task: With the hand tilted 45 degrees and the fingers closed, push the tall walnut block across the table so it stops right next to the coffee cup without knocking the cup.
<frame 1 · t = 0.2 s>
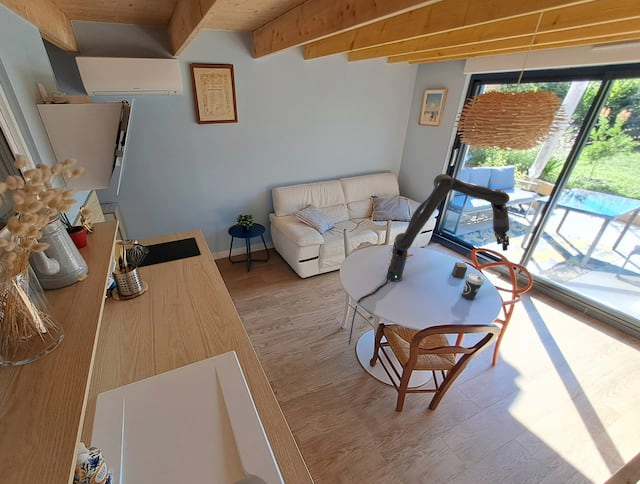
hand: (502, 247, 173), 31 cm above the table, tool tilted 20°, fingers open, 8 cm apart
magic lamp: (399, 261, 220), on the table
walnut block: (457, 275, 202), on the table
coffee cup: (467, 297, 181), on the table
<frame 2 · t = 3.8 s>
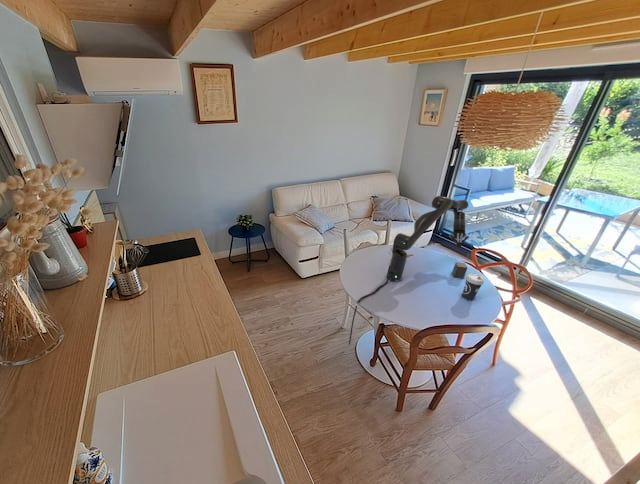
hand: (458, 247, 207), 15 cm above the table, tool tilted 45°, fingers closed
nothing on the table moved.
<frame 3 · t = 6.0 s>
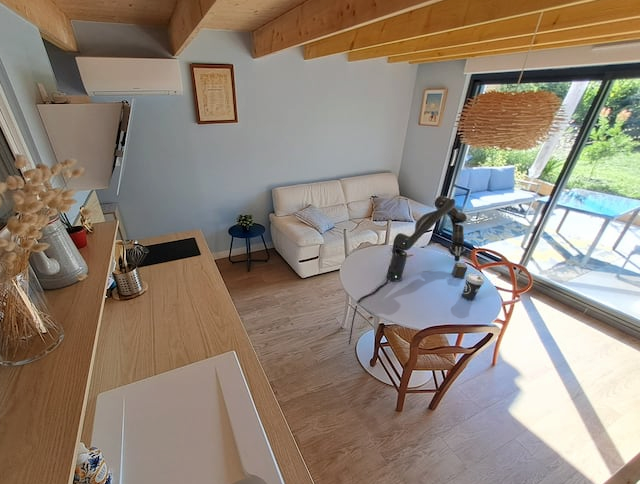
hand: (457, 261, 206), 7 cm above the table, tool tilted 45°, fingers closed
nothing on the table moved.
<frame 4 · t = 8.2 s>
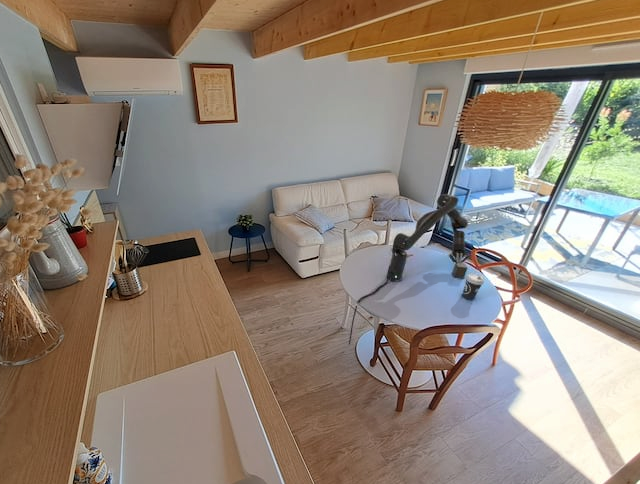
hand: (458, 267, 202), 4 cm above the table, tool tilted 45°, fingers closed
walnut block: (457, 275, 202), on the table, touching gripper
everything else where it was.
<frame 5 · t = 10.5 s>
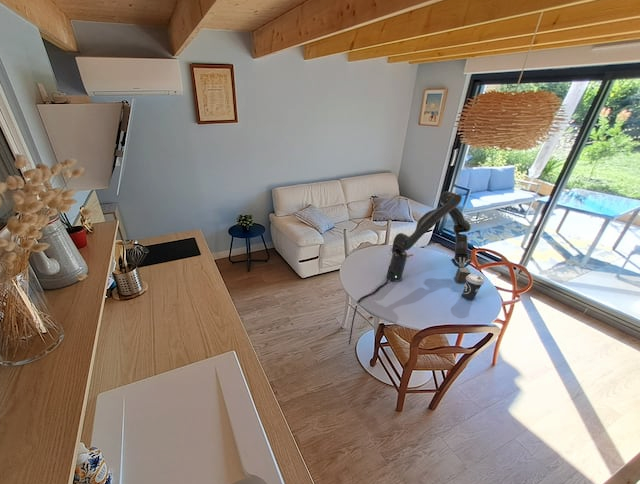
hand: (460, 272, 197), 4 cm above the table, tool tilted 45°, fingers closed
walnut block: (460, 281, 196), on the table, touching gripper
everything else where it was.
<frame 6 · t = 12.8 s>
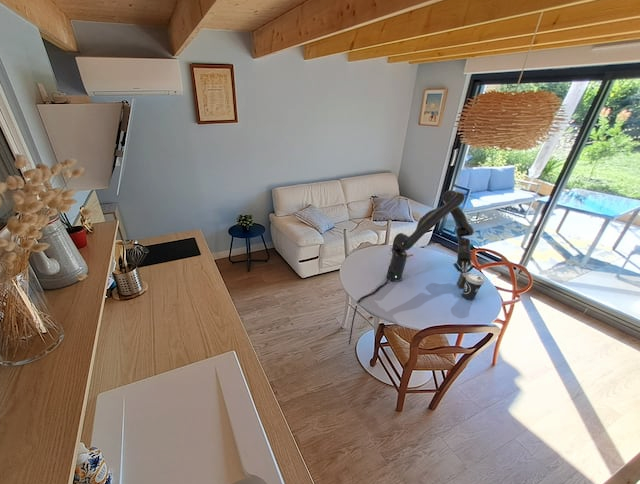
hand: (463, 277, 191), 4 cm above the table, tool tilted 45°, fingers closed
walnut block: (463, 286, 191), on the table, touching gripper
everything else where it was.
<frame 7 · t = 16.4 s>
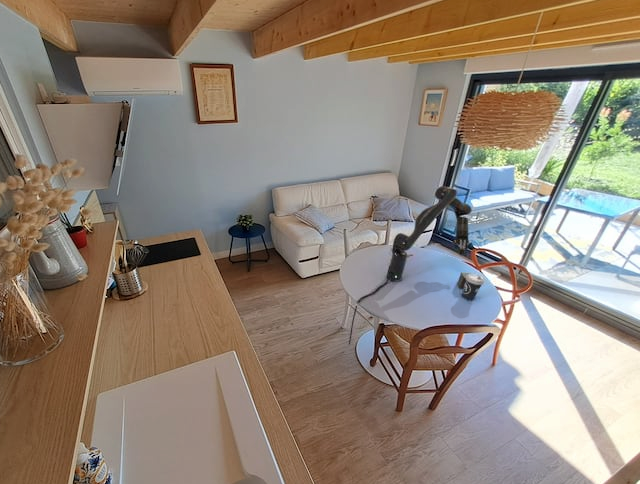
hand: (461, 254, 197), 15 cm above the table, tool tilted 45°, fingers closed
walnut block: (463, 286, 191), on the table
everything else where it was.
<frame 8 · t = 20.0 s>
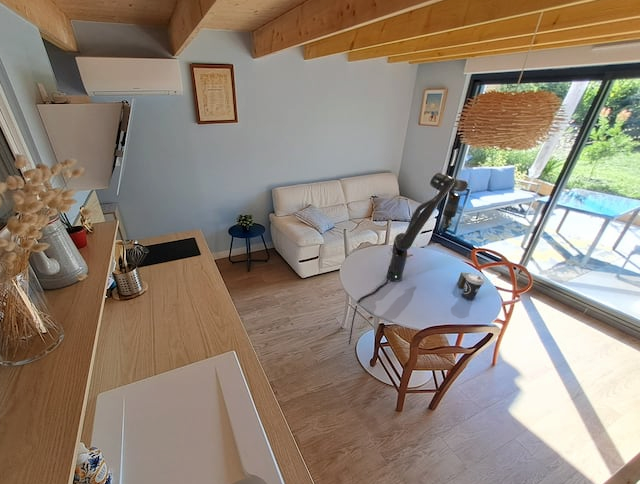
hand: (443, 232, 202), 27 cm above the table, tool pointing down, fingers closed
nothing on the table moved.
at the end: walnut block 11.7 cm from the coffee cup (horizontally); walnut block moved 13.4 cm from its start; coffee cup moved 0.2 cm from its start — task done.
